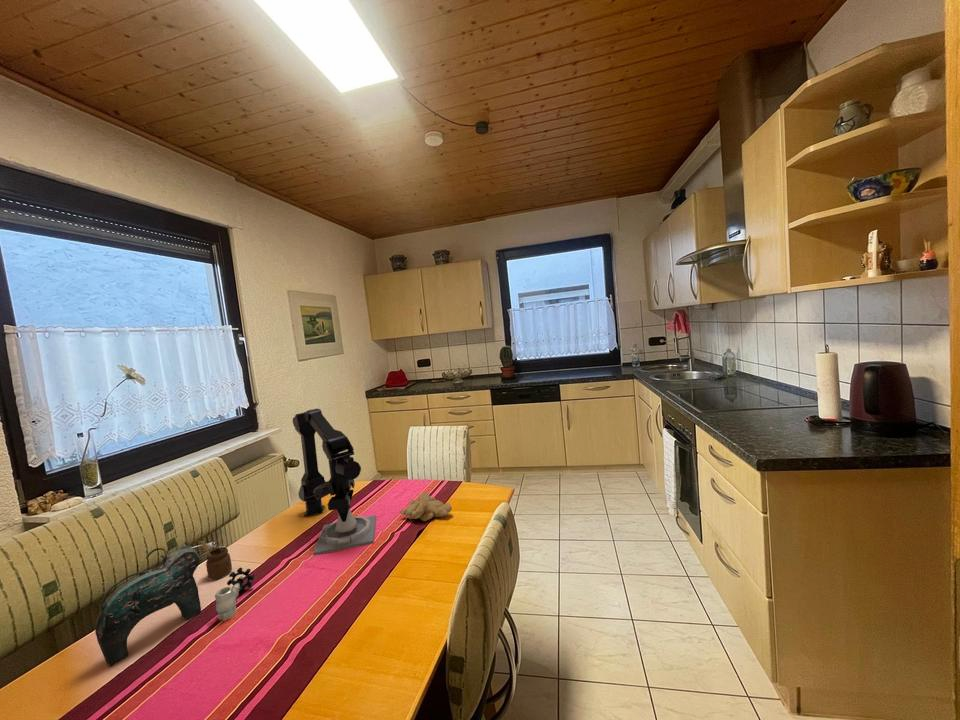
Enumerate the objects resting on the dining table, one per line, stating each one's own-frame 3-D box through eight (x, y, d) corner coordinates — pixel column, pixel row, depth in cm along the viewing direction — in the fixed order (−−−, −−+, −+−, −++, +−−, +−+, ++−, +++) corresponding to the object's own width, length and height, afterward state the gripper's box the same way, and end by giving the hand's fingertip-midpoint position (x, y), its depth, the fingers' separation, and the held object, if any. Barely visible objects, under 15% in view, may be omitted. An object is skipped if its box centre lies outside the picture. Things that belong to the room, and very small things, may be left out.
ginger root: (396, 510, 141) (399, 489, 141) (436, 508, 148) (439, 488, 148) (406, 530, 127) (410, 506, 127) (451, 527, 134) (454, 504, 134)
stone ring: (327, 526, 135) (326, 521, 135) (371, 517, 138) (371, 512, 138) (318, 549, 120) (318, 543, 120) (369, 539, 123) (368, 534, 123)
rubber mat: (324, 527, 136) (323, 525, 136) (376, 517, 140) (376, 515, 140) (313, 555, 119) (313, 552, 119) (373, 543, 122) (373, 540, 122)
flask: (361, 521, 132) (357, 494, 132) (352, 533, 125) (348, 503, 124) (341, 522, 133) (337, 494, 132) (331, 534, 126) (327, 504, 125)
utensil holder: (236, 569, 115) (230, 531, 114) (215, 583, 109) (208, 542, 108) (224, 566, 117) (218, 528, 116) (202, 579, 112) (196, 539, 111)
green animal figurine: (200, 602, 101) (188, 530, 100) (212, 609, 98) (200, 534, 96) (98, 662, 84) (82, 576, 83) (109, 673, 81) (92, 583, 79)
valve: (239, 618, 94) (256, 587, 106) (235, 593, 93) (253, 564, 105) (209, 625, 93) (230, 593, 104) (204, 599, 92) (226, 570, 104)
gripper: (319, 467, 135) (324, 510, 136) (307, 488, 117) (314, 537, 118) (352, 462, 137) (357, 504, 139) (345, 481, 119) (351, 529, 121)
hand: (345, 517), depth 129 cm, fingers closed on flask, 5 cm apart
